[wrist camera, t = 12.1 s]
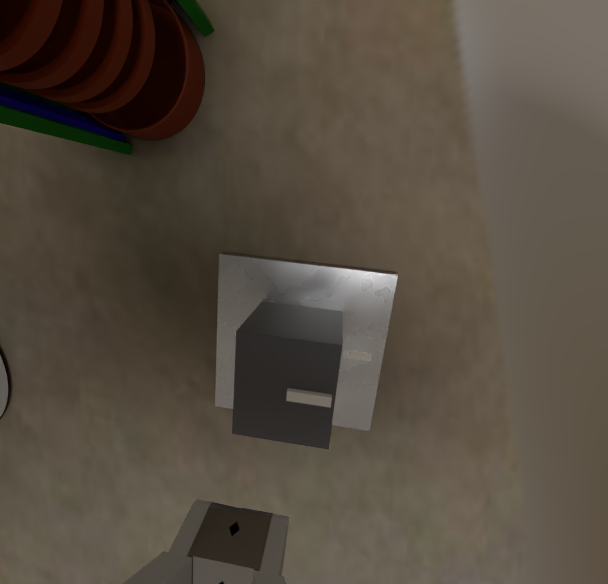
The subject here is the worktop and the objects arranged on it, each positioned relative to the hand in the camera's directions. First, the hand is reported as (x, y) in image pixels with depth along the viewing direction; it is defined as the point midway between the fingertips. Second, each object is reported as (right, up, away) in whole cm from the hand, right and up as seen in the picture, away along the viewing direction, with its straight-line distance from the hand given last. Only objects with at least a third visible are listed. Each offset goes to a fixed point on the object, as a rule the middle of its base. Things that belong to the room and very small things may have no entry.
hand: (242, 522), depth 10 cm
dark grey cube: (+1, +3, +13) cm, 13 cm away
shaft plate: (+2, +4, +14) cm, 14 cm away
